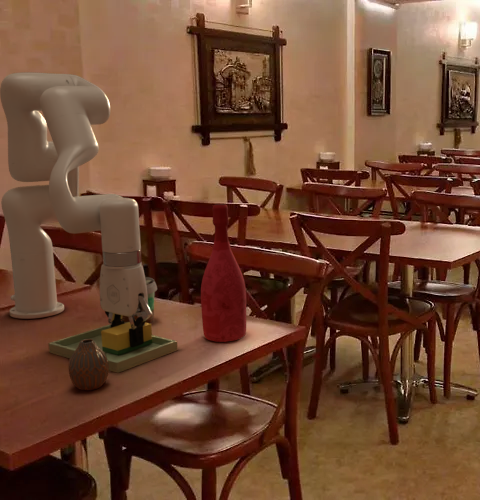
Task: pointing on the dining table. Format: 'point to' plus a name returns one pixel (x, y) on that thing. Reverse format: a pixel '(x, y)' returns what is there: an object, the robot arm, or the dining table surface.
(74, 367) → the vase
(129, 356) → the tray
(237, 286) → the wine bottle
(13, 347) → the dining table surface
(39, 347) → the dining table surface
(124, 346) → the sponge
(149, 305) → the food container
